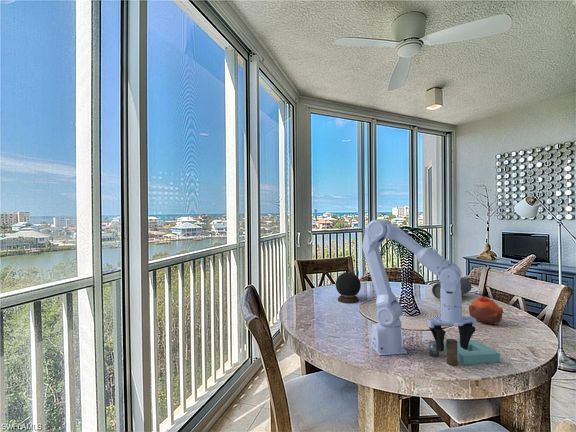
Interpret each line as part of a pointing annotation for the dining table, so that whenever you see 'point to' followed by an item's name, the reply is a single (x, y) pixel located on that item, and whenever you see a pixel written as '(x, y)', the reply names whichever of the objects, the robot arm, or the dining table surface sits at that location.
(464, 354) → the hole block
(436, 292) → the bluetooth speaker
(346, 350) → the dining table surface
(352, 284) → the snow globe
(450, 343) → the walnut dowel
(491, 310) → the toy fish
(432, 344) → the metal stub
